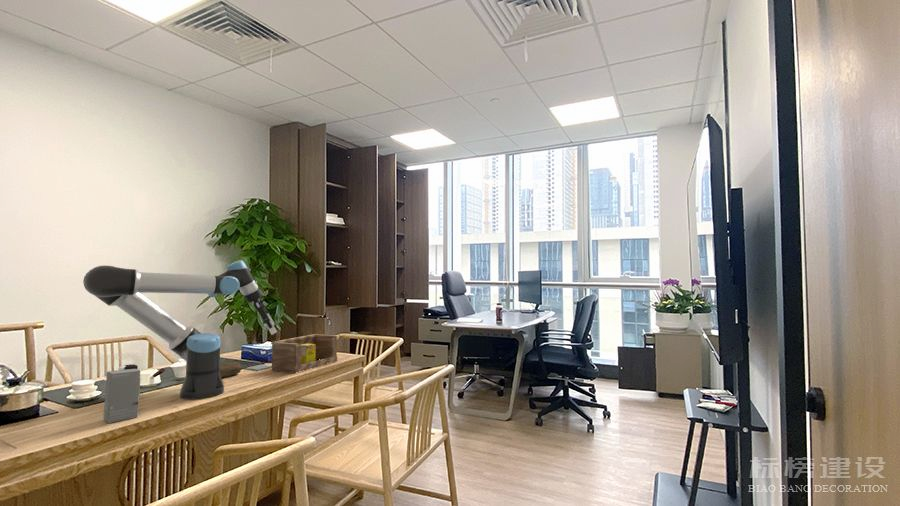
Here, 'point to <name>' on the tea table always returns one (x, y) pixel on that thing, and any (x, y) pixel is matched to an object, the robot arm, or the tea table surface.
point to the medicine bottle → (129, 368)
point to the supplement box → (307, 353)
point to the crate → (289, 352)
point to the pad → (259, 367)
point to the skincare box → (121, 395)
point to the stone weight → (229, 369)
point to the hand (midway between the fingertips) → (273, 329)
